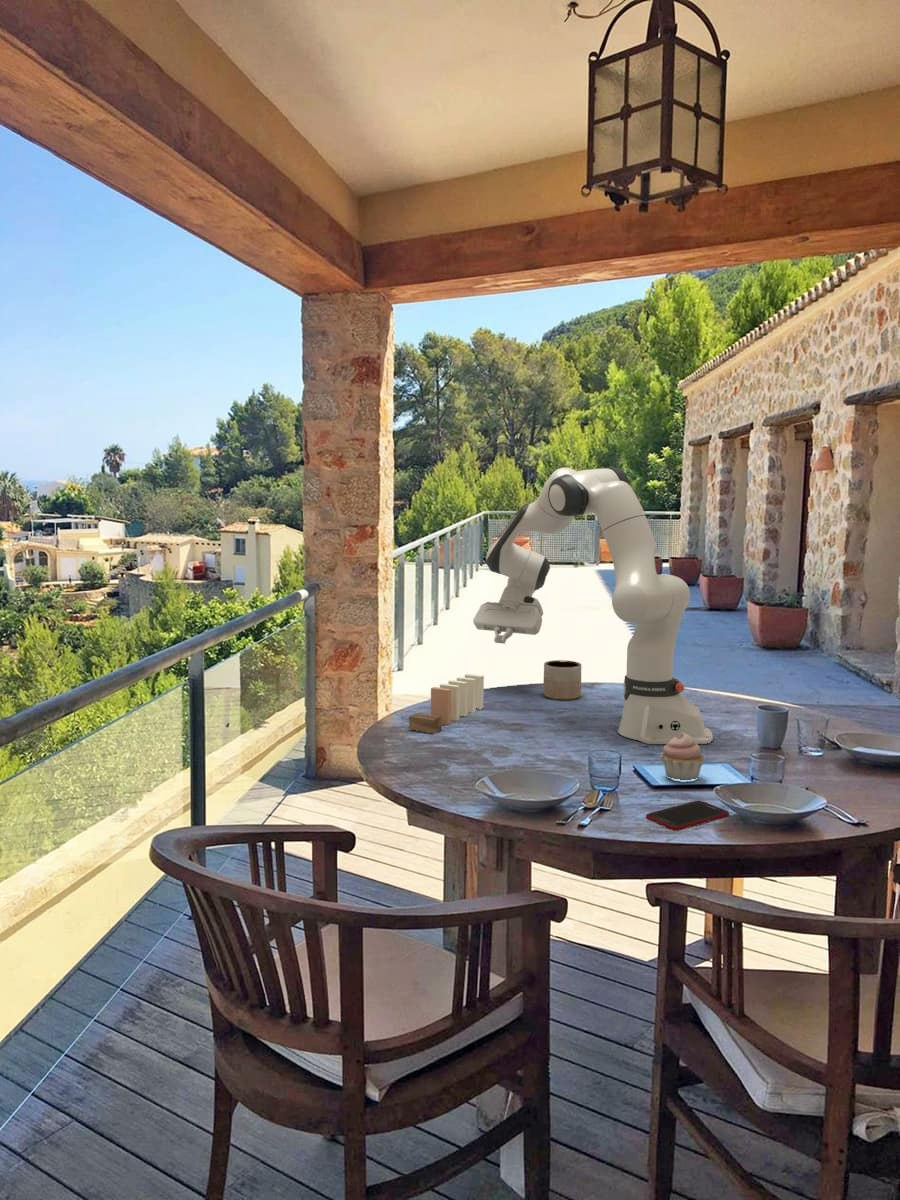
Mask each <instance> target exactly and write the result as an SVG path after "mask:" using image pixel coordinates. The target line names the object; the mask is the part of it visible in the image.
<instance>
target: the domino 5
mask: <svg viewBox="0 0 900 1200" xmlns="http://www.w3.org/2000/svg"><path fill="white" fill-rule="evenodd" d="M464 678H472V679H476V708H477V709H476V710H483V709H484V700H485V699H484V697H485V696H484V691H485V688H484V685H485V684H484V682H485V679H484V678H485V675H482V674H480V675H479V674H473V673H472V674H471V673H466V674H464ZM482 708H483V709H482Z"/></svg>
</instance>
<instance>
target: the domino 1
mask: <svg viewBox="0 0 900 1200" xmlns="http://www.w3.org/2000/svg"><path fill="white" fill-rule="evenodd" d="M430 715H435V716H442V725H444V724H445V726H449V725H451V724H452V720H451V689H446V688H440V687H437V686H433V687H430Z"/></svg>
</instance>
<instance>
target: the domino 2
mask: <svg viewBox="0 0 900 1200" xmlns="http://www.w3.org/2000/svg"><path fill="white" fill-rule="evenodd" d="M439 688H446V689H451V721H454V722H455V721H456V722H458V721H459V720H460V716H459V714H460V686H459V685H451V684H448V683H441V684H439Z"/></svg>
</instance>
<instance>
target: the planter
mask: <svg viewBox="0 0 900 1200" xmlns="http://www.w3.org/2000/svg"><path fill="white" fill-rule="evenodd" d="M542 686H543V687H542V688H543V689H542V690H543V691H542V693H543V696H544V697H546V698H547V697H548V698H547V699H550V698H552V699H551V700H554V699H559V700H558V701H571V700H570V699H574V700H577V699H579V698H580V697H581V696H582V664H581V662H577V661H573V660H566V659H565V660H564V659H563V660H562V659H561V660H560V659H558V660H549V661H545V662H544V664H543V685H542ZM576 698H577V699H576Z"/></svg>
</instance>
